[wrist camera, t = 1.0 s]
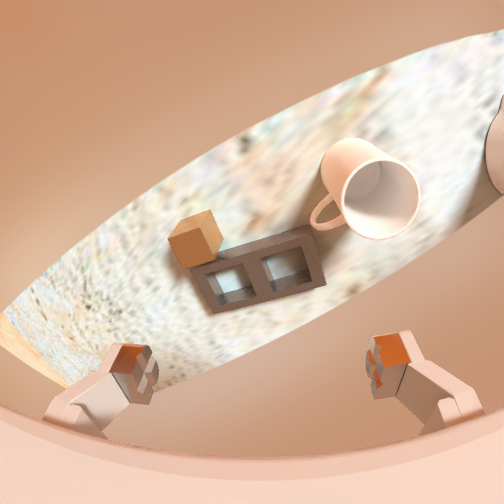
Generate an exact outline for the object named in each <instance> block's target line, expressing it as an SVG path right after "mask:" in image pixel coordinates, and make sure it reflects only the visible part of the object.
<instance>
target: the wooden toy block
mask: <svg viewBox="0 0 504 504" xmlns="http://www.w3.org/2000/svg"><path fill="white" fill-rule="evenodd" d="M222 240H223V237H222V235H221V233H220V230H219V228H218V226H217V224H216V222H215V219H214V217H213V215H212V213H211V210H207V211H205V212H202V213H199V214H196V215H194V216H191V217H188V218H185V219H183V220H181V221H180V222H179V224H178V225H177V226H176V228H175V229H174V230H173V232H172V233H171V234H170V236H169V237H168V241H169V243H170V245H171V247H172V249H173V251H174V253H175V254H176V256H177V258H178V260H179V262H180V264H181V266H182V268H183V269H186V268H189V267H192V266H196V265H199V264H202V263H206V262H209V261H212V260H215V259H216V256H217V253H218V251H219V248H220V245H221V243H222Z"/></svg>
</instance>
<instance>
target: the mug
mask: <svg viewBox="0 0 504 504" xmlns="http://www.w3.org/2000/svg"><path fill="white" fill-rule="evenodd" d="M321 178H322V182H323V184H324V186H325V188H326V189H327V191H328V192H329V194H328V195H327V196H326V197H325V198H324V199H323V200H322V201H321V202H320V203H319V204H318V205H317V206H316V207H315V209H314V210H313V212H312V214H311V217H310V223H311V225H312V226H313V228H315V229H316V230H320V231H325V230H330V229H333V228H336V227H338V226H341V225H343V224H346V223H347V224H348V226H349V227H350V228H351V229H352V230H353V231H354V232H355V233H357V234H358V235H360V236H362V237H364V238H367V239H371V240H385V239H389V238H392V237H394V236H397V235H398V234H400V233H401V232H403V231H404V230H405V229H406V228H407V227H408V226H409V225H410V224H411V223H412V221H413V220H414V218H415V216H416V214H417V212H418V209H419V205H420V187H419V184H418V181H417V179H416V177H415V175H414V173H413V172H412V171H411V170H410V169H409V168H408V167H407V166H406V165H405V164H404V163H402V162H400V161H399V160H397V159H395V158H393V157H391V156H390V155H388V154H386V153H384V152H382V151H380V150H379V149H377V148H376V147H375V146H373V145H372V144H371V143H369V142H367V141H365V140H362V139H358V138H348V139H343V140H341V141H338V142H337V143H335V144H334V145H332V146H331V147H330V148H329V149H328V151H327V152H326V154H325V155H324V157H323V160H322V163H321ZM333 200H335V202H336V204H337V206H338V208H339V210H340V212H341V214H340V215H339V216H338V217H336V218H335V219H333V220H331V221H328V222H325V223H316V219H317V217H318V215H319V213H320V212H321V211H322V210H323V208H324V207H325V206H326V205H328V204H329V203H330V202H331V201H333Z"/></svg>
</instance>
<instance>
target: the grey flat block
mask: <svg viewBox="0 0 504 504" xmlns="http://www.w3.org/2000/svg"><path fill="white" fill-rule="evenodd" d="M300 246H301V247H302V250H303V253H304V256H305V259H306V262H307V265H308V269H309V270H308V271H305V272H301V273H298V274H294V275H290V276H287V277H283V278H280V279H276V280H274V279H273V277H272V274H271V272H270V269H269V267H268V264H267V262H266V259H265V257H266V256H269V255H272V254H276V253H279V252H283V251H286V250H290V249H293V248H296V247H300ZM241 263H242V264H243V266H244V268H245V270H246V273H247V275H248V277H249V279H250V282H251V284H252V286H250V287H246V288H242V289H239V290H235V291H231V292H227V293H223V291H222V289H221V287H220V285H219V283H218V281H217V279H216V277H215V275H214V273H213V272H214V271H217V270H221V269H224V268H228V267H231V266H234V265H238V264H241ZM190 271H191V273H192V275H193V277H194V279H195V281H196V282H197V284H198V286H199V288H200V290H201V292H202V294H203V295H204V297H205V299H206V301H207V303H208V305H209V306H210V308H211V310H212V312H213V313H214V314H215V313H220V312H224V311H228V310H232V309H236V308H241V307H245V306H249V305H253V304H257V303H261V302H265V301H269V300H273V299H276V298H280V297H284V296H288V295H292V294H295V293H299V292H303V291H306V290H310V289H314V288H317V287H321V286H325V285H327V284H326V280H325V276H324V272H323V268H322V265H321V261H320V258H319V255H318V251H317V248H316V245H315V241H314V238H313V235H312V232H311V229H310V225H306V226H303V227H300V228H296V229H293V230H290V231H286V232H283V233H280V234H277V235H273V236H270V237H267V238H263V239H260V240H257V241H253V242H250V243H247V244H244V245H240V246H237V247H234V248H231V249H227V250H224V251H221V252H218V253H217V256H216V259H215V260H212V261H209V262H206V263H202V264H199V265H196V266H192V267H191V269H190Z"/></svg>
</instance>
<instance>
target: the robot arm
mask: <svg viewBox="0 0 504 504" xmlns="http://www.w3.org/2000/svg"><path fill="white" fill-rule="evenodd" d="M486 164H487V169H488V173H489V176H490V179H491V181H492V183H493V185H494V186H495V187H496V189H497V190H498V191H499V192H500V193H502V194H503V195H504V96H503V99H502V103H501V108H500V111H499V113H498V114H497V116H496V117H495V119H494V120H493V122H492V124H491V126H490V129H489V132H488V136H487V141H486ZM369 347H370V350H369V351H368V352H367V354H366V371H367V374H368V377H370V378H371V379H372V382H371V389H372V393H373V397H374V399H380V398H388V397H394V396H396V398H397V399H398V400H399V401H400V402H401V403H402V404H404V406H405V407H406V408H407V409H408V410H410V411H411V412H412V413H413V414H414V415H415V416H416V417H417V418H418V419H419V420H420V421H421V422H422V423H423V424H424V427H423V428H422V430H421V432H420V433H419V435H418V436H417V437H413V438H409V439H405V440H401V441H397V442H392V443H387V444H383V445H377V446H372V447H367V448H360V449H354V450H347V451H340V452H331V453H323V454H310V455H297V456H275V457H238V456H215V455H201V454H189V453H181V452H173V451H165V450H158V449H151V448H146V447H140V446H135V445H130V444H124V443H120V442H115V441H111V440H108V438H107V437H106V436H105V435H104V434H103V433H102V432H101V431H102V430H103V429H104V428H106V427H107V426H108V425H109V424H110V423H111V422H112V421H113V420H114V419H115V418H116V417H117V416H118V415H119V414H120V413H121V412H122V411H123V410H124V409H125V408H126V407H127V406H128V405H129V404H130V403H137V404H147V405H148V404H149V403H150V400H151V397H152V394H153V390H152V386H153V385H155V384H156V383H157V380H158V375H159V369H158V364H157V362H156V360H155V359H153V358H152V357H151V354H152V351H151V349H150V347H149V346H147V345H137V344H122V343H114V344H112V345H111V347H110V348H109V350H108V352H107V354H106V356H105V358H104V359H103V361H102V363H101V365H100V367H99V369H98V371H93V372H92V373H90V374H89V375H87V376H86V377H84V378H83V379H81V380H80V381H78V382H77V383H76V384H74V385H73V386H71V387H70V388H68V389H67V390H65V391H64V392H62V393H61V394H59V395H58V396H56V397H55V398H54V399H53V400H52V402H51V404H50V406H49V408H48V409H47V412H46V413H45V415H44V417H43V419H42V420H40V419H37V418H35V417H32V416H29V415H27V414H24V413H22V412H19V411H17V410H15V409H12V408H10V407H8V406H6V405H3V404H1V403H0V504H504V407H501V408H499V409H497V410H494V411H492V412H490V413H487V414H485V413H484V411H483V408H482V406H481V404H480V402H479V400H478V397H477V395H476V394H475V391H474V389H473V388H471V387H470V386H468V385H466V384H465V383H463V382H462V381H460V380H459V379H457V378H456V377H454V376H453V375H451V374H449V373H448V372H446V371H445V370H443V369H442V368H440V367H439V366H437V365H436V364H434V363H432V362H431V361H429V360H424V357H423V355H422V354H421V351H420V349H419V347H418V345H417V343H416V341H415V339H414V337H413V335H412V333H411V331H410V330H405V331H399V332H393V333H387V334H380V335H374V336H371V337H370V339H369Z"/></svg>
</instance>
